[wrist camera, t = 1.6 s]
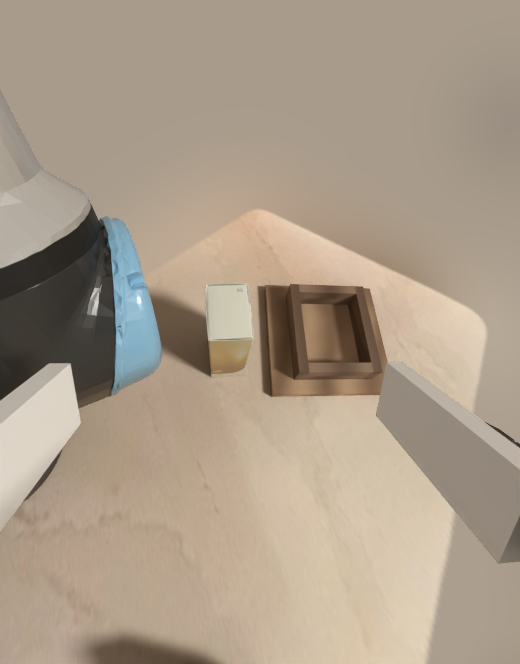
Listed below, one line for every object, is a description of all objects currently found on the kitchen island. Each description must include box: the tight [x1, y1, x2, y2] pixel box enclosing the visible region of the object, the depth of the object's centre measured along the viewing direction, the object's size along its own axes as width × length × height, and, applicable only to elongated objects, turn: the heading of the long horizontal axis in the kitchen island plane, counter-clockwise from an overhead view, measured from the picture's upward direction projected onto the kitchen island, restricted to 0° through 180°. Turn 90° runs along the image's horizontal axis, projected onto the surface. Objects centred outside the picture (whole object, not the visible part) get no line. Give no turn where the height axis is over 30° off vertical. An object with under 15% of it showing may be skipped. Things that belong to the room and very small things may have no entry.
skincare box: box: [205, 284, 254, 377], centre depth 33 cm, size 6×4×12 cm
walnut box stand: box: [265, 284, 387, 397], centre depth 40 cm, size 16×16×4 cm
